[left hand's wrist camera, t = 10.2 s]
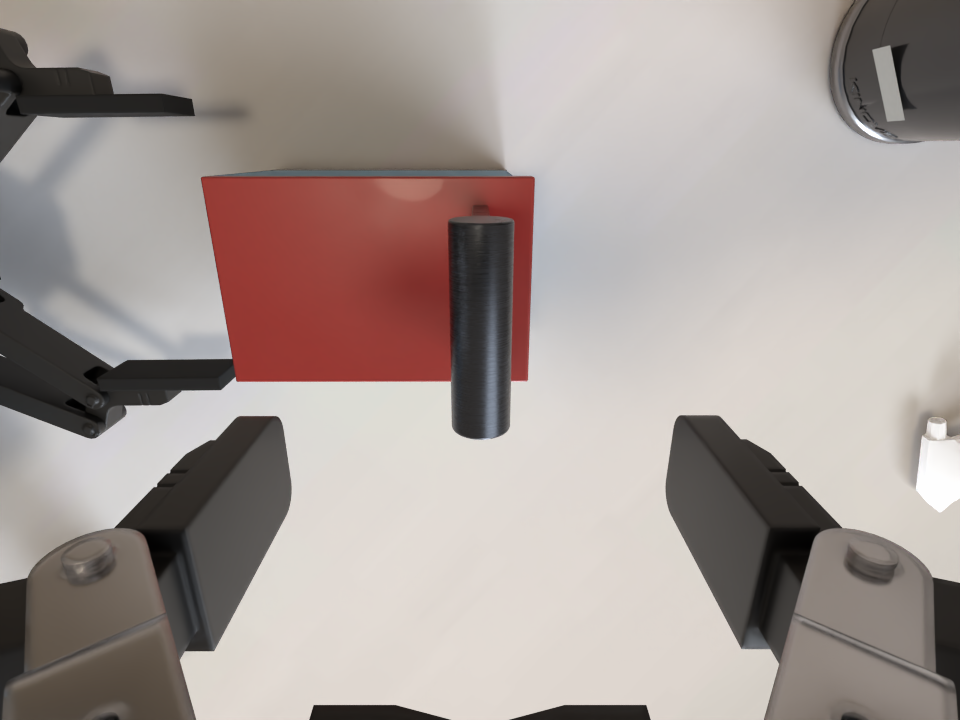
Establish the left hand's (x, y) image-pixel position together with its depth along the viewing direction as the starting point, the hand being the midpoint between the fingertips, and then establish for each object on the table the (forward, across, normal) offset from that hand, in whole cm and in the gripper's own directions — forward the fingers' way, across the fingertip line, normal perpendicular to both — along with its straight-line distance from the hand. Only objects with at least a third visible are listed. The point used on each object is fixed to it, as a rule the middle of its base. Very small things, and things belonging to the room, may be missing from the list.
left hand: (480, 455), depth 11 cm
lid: (+16, -5, 0) cm, 17 cm away
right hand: (+18, -14, +1) cm, 23 cm away
